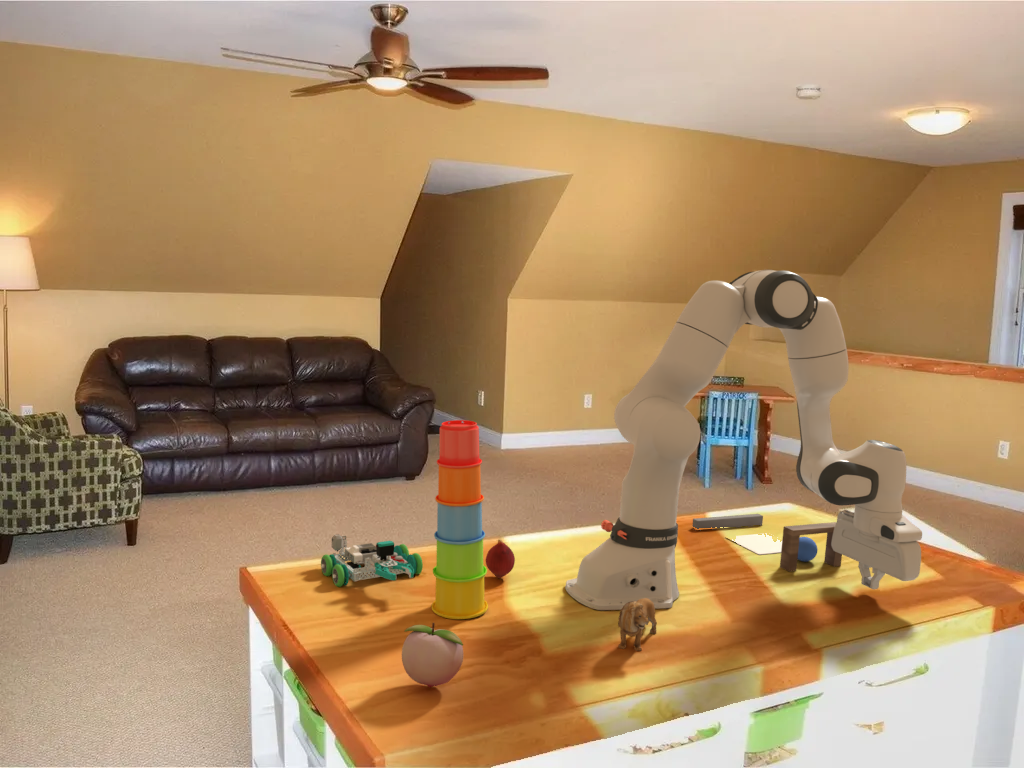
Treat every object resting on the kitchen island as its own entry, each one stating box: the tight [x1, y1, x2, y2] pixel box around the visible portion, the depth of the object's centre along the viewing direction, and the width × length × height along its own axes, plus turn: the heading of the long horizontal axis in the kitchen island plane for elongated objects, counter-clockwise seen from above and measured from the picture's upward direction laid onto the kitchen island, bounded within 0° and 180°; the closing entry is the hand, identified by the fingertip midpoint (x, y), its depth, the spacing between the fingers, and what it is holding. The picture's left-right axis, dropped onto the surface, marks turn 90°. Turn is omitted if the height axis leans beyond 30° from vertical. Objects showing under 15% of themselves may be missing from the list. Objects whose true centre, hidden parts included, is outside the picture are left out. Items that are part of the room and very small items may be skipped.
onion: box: [485, 538, 516, 579], centre depth 174 cm, size 6×6×8 cm
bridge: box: [779, 521, 843, 572], centre depth 191 cm, size 3×14×9 cm, turn 113°
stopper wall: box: [691, 513, 764, 529], centre depth 219 cm, size 20×2×2 cm, turn 113°
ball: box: [797, 536, 818, 563], centre depth 195 cm, size 6×6×6 cm
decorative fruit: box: [401, 622, 464, 688], centre depth 127 cm, size 9×8×10 cm
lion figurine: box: [617, 598, 658, 652], centre depth 147 cm, size 15×5×9 cm, turn 161°
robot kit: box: [320, 533, 424, 588], centre depth 169 cm, size 19×25×9 cm
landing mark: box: [731, 532, 782, 556], centre depth 206 cm, size 13×13×1 cm
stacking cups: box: [431, 419, 489, 620], centre depth 156 cm, size 10×10×35 cm
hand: (869, 586), depth 176 cm, fingers closed
